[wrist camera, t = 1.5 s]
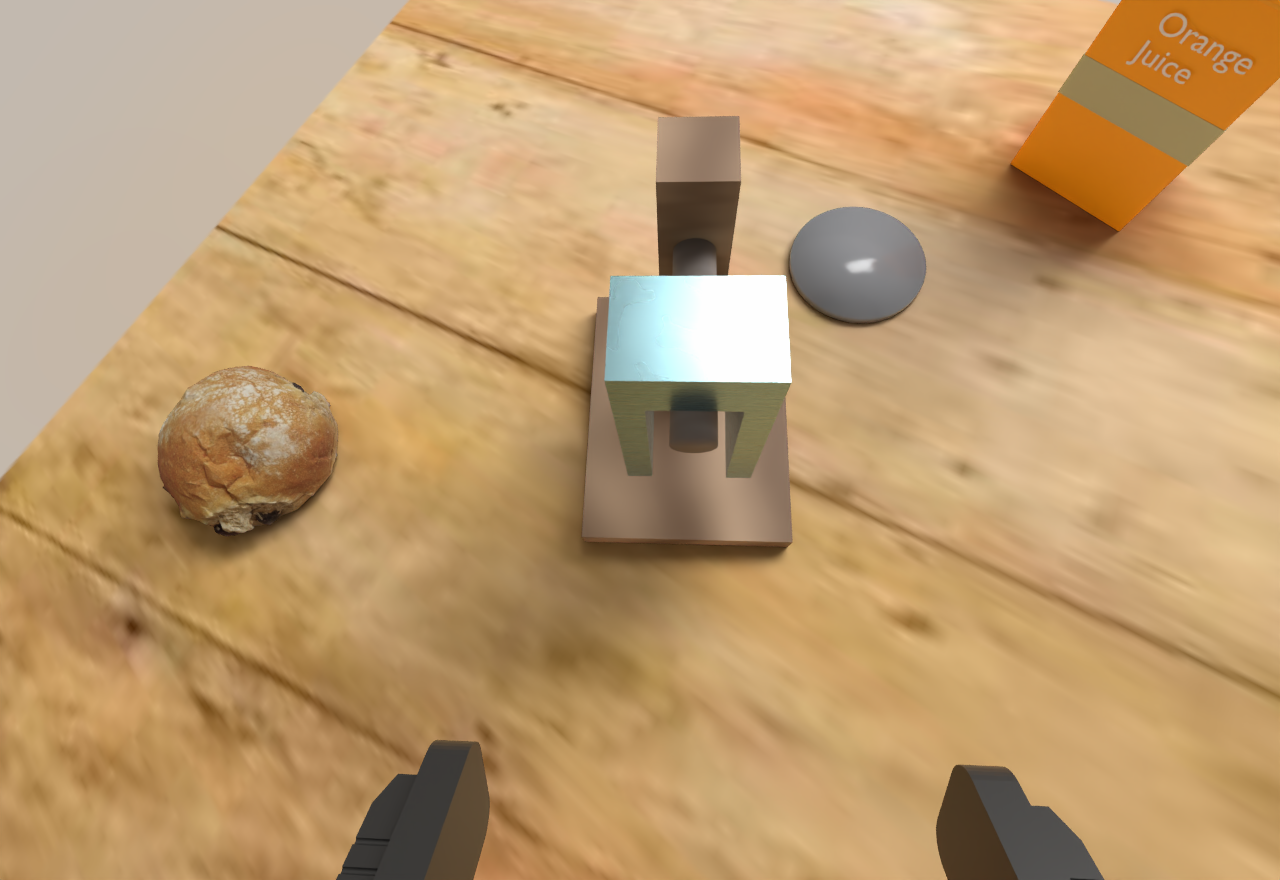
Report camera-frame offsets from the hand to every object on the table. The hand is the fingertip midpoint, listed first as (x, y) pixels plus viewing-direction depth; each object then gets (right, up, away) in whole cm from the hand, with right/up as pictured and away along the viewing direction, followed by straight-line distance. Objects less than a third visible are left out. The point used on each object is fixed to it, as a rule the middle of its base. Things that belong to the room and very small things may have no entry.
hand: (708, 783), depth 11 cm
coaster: (+14, +18, +32) cm, 39 cm away
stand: (+2, +7, +28) cm, 29 cm away
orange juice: (+31, +26, +34) cm, 53 cm away
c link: (+1, +6, +20) cm, 21 cm away
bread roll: (-25, +5, +29) cm, 39 cm away
